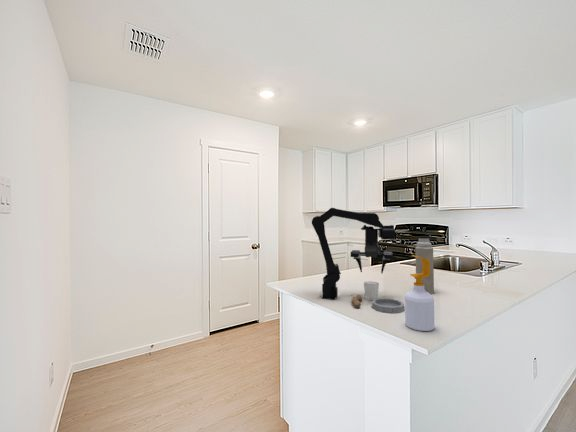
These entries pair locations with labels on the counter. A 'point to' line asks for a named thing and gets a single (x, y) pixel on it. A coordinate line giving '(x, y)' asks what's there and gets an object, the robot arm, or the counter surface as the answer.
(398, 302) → the tray
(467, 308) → the counter surface
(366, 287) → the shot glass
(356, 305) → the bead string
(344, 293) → the counter surface
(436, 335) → the counter surface
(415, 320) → the soap bottle
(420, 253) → the thermos bottle
